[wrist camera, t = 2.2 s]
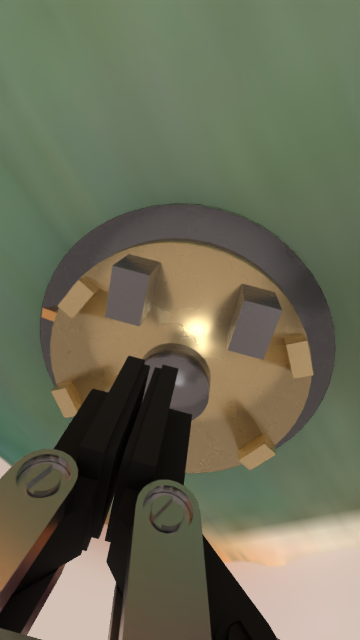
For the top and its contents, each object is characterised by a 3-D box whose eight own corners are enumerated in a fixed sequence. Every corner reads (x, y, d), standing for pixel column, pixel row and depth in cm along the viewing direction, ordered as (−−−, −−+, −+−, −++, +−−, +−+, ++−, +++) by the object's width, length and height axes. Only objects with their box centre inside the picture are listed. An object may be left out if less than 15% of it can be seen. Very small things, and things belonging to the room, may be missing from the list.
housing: (352, 197, 20) (362, 199, 19) (310, 466, 29) (315, 482, 27) (23, 208, 23) (8, 209, 22) (73, 447, 32) (65, 460, 30)
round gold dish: (257, 477, 28) (263, 536, 23) (55, 420, 28) (22, 465, 24) (349, 278, 20) (384, 306, 16) (74, 207, 21) (30, 214, 16)
